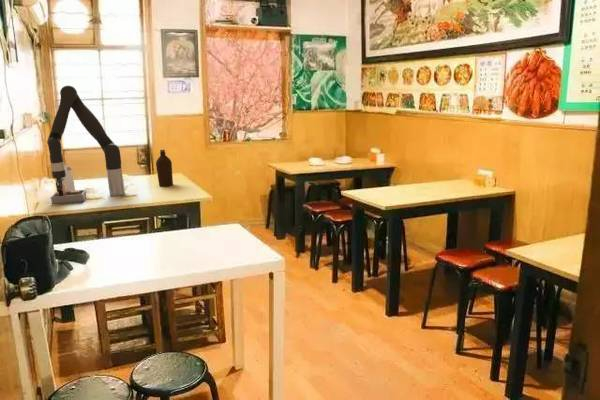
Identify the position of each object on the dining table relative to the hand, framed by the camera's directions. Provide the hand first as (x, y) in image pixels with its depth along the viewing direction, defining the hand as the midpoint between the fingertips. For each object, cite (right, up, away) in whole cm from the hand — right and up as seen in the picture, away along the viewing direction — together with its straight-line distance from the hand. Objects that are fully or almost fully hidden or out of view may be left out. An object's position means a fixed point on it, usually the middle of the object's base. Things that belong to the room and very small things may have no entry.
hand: (62, 196), depth 307 cm
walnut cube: (+8, -2, +2) cm, 8 cm away
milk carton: (-10, +3, +27) cm, 29 cm away
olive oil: (+55, +8, +38) cm, 67 cm away
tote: (+4, -3, +2) cm, 5 cm away
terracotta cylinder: (0, -1, 0) cm, 1 cm away
